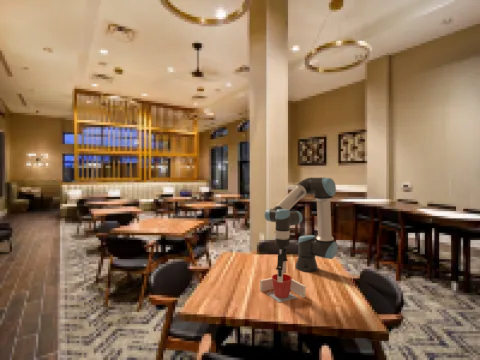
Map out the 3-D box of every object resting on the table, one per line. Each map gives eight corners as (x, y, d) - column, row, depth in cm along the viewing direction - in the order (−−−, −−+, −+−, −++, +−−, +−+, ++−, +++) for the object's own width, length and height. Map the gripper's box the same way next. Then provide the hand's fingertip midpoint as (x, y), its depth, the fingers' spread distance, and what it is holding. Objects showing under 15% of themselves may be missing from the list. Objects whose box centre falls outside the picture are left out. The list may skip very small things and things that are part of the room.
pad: (283, 289, 150) (283, 288, 150) (297, 298, 139) (297, 297, 139) (265, 293, 144) (265, 292, 144) (279, 302, 133) (279, 302, 133)
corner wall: (285, 285, 156) (285, 275, 156) (305, 297, 140) (305, 285, 140) (260, 290, 147) (260, 280, 147) (278, 303, 132) (278, 292, 132)
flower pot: (270, 298, 137) (271, 280, 137) (272, 289, 148) (272, 272, 148) (291, 300, 135) (291, 281, 135) (291, 291, 146) (291, 274, 146)
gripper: (278, 232, 154) (278, 268, 155) (271, 242, 130) (270, 285, 131) (291, 233, 152) (291, 270, 152) (286, 244, 128) (286, 287, 128)
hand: (281, 277), depth 141 cm, fingers open, 13 cm apart
